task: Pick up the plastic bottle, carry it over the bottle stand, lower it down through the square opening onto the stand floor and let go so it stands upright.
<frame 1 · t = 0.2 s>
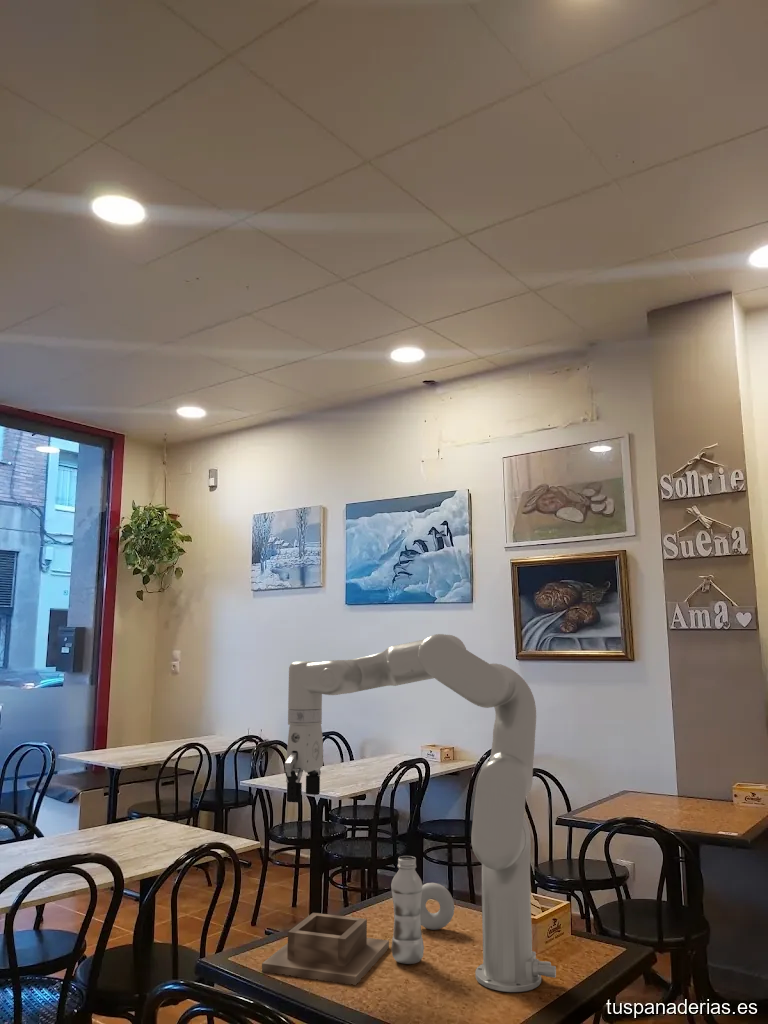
hand: (303, 798, 169), 31 cm above the table, tool pointing down, fingers open, 9 cm apart
plastic bottle: (407, 963, 158), on the table
donut: (433, 930, 176), on the table
bottle stand: (327, 959, 159), on the table
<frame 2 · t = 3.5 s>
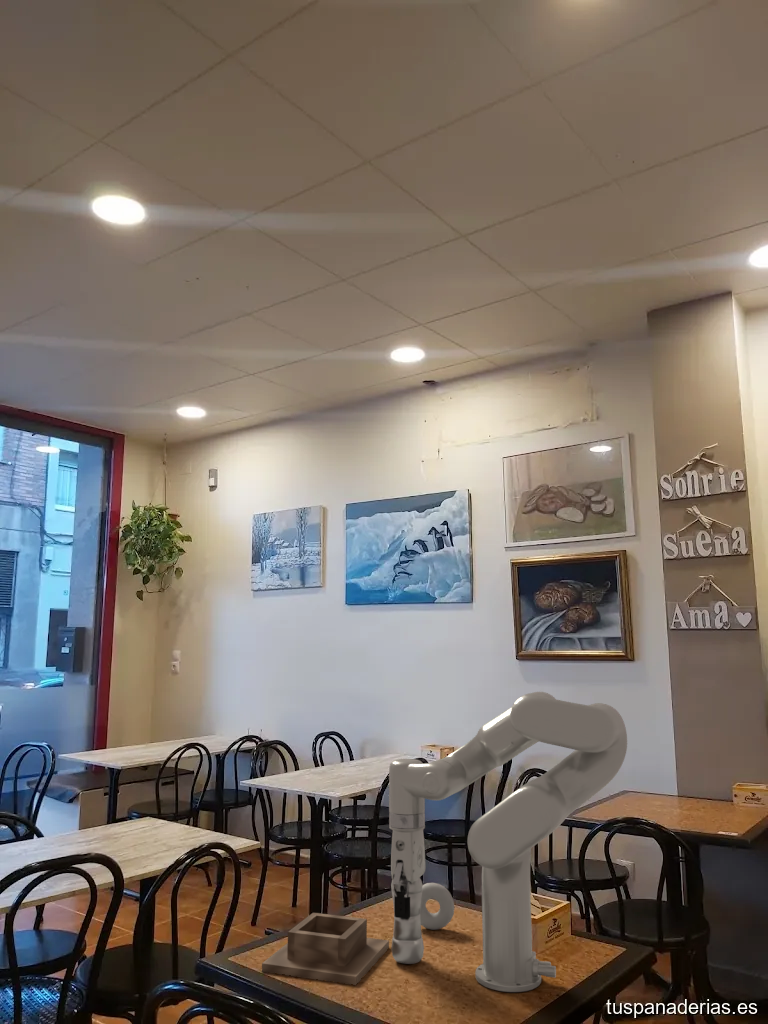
hand: (407, 911, 159), 10 cm above the table, tool pointing down, fingers closed on plastic bottle, 6 cm apart
plastic bottle: (407, 963, 158), on the table, touching gripper
everything else where it was.
when the fingers open (12 cm above the table, at t = 9.6 s): plastic bottle drops 1 cm, resting on bottle stand.
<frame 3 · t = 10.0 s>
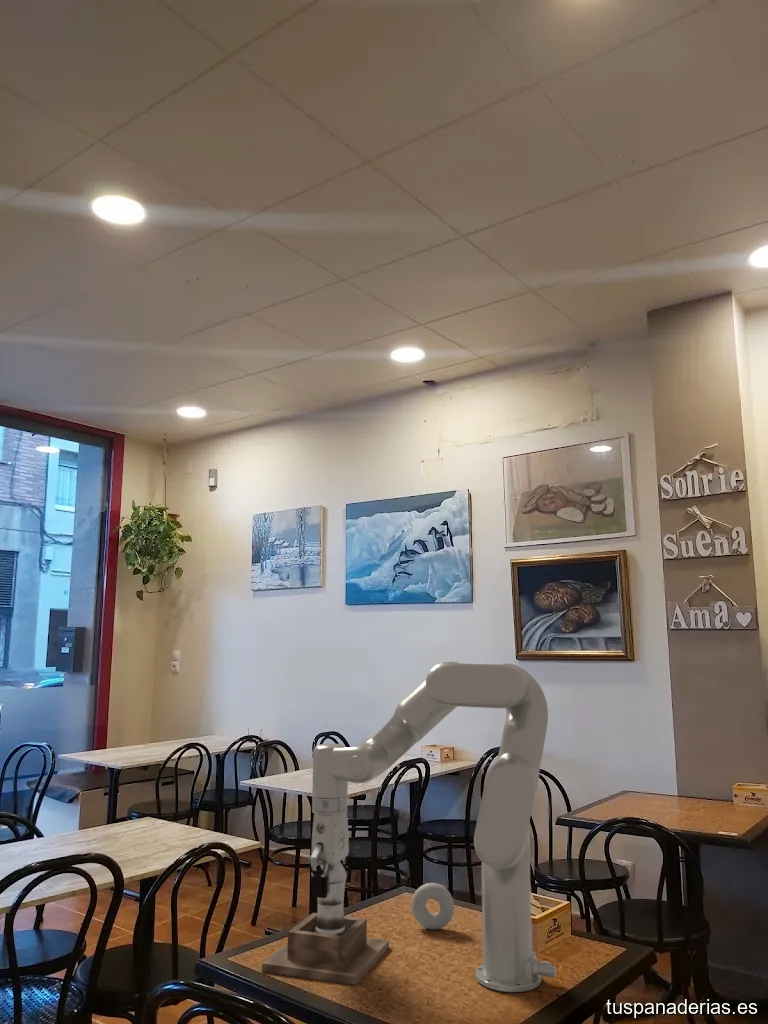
hand: (328, 890, 161), 13 cm above the table, tool pointing down, fingers open, 9 cm apart
plastic bottle: (329, 951, 160), point 1 cm above the table, touching bottle stand
everything else where it was.
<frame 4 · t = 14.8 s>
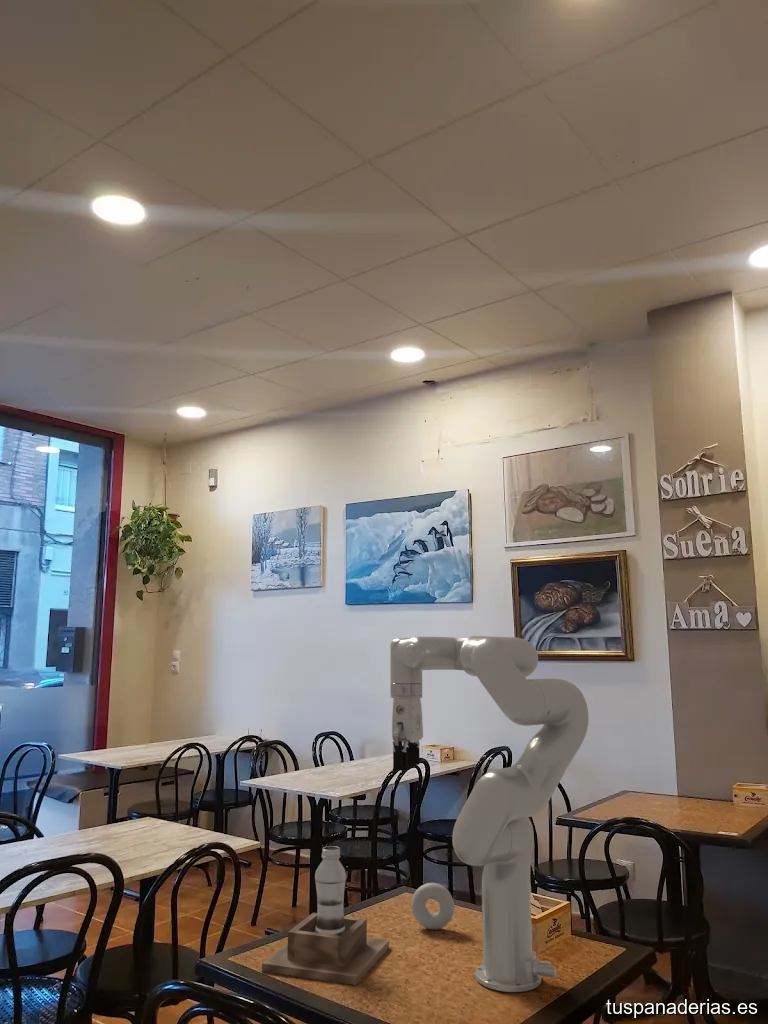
hand: (406, 767, 178), 36 cm above the table, tool pointing down, fingers open, 9 cm apart
nothing on the table moved.
at the end: plastic bottle 0.5 cm off-centre on the bottle stand, point 1.3 cm above the bottle stand's base; plastic bottle tilted 0°; the gripper is holding nothing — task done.
